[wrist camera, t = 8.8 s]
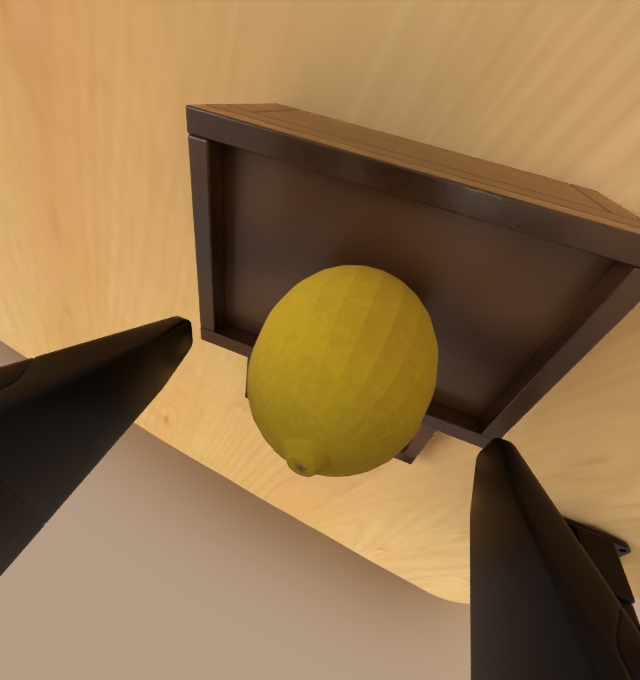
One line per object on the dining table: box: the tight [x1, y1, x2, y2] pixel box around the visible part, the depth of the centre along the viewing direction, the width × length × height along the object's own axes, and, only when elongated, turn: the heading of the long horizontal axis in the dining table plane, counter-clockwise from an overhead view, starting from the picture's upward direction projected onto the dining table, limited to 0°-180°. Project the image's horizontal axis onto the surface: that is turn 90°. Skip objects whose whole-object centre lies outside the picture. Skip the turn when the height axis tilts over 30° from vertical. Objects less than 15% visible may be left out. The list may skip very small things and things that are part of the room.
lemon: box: [247, 265, 438, 477], centre depth 10 cm, size 6×6×8 cm
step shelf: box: [186, 104, 640, 464], centre depth 18 cm, size 21×15×7 cm
